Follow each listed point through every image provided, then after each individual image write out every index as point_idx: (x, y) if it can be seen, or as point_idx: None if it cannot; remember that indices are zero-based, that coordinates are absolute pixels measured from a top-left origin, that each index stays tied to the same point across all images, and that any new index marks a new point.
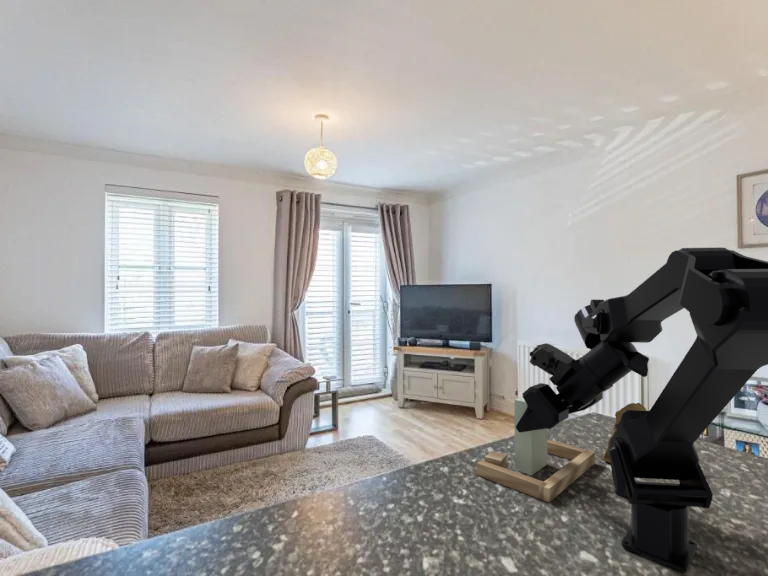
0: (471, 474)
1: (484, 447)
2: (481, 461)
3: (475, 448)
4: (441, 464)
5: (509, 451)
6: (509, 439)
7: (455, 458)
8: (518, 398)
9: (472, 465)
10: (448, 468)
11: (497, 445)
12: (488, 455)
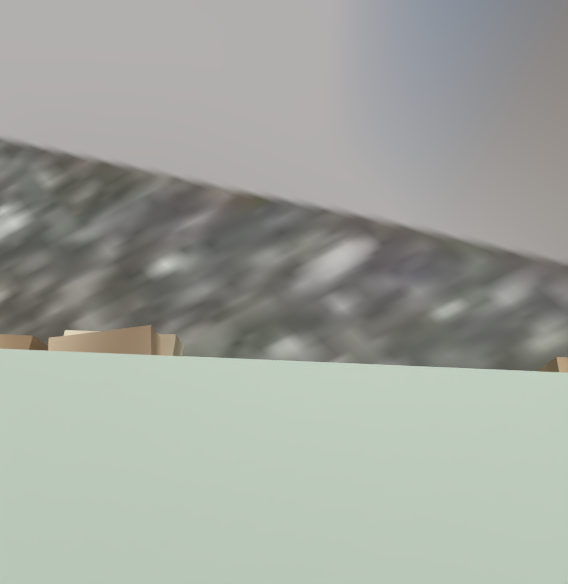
0: (11, 333)
1: (342, 228)
2: (14, 344)
3: (298, 205)
4: (39, 192)
5: (391, 341)
6: (544, 267)
7: (132, 200)
8: (52, 360)
9: (106, 289)
10: (16, 232)
11: (416, 260)
12: (75, 344)
